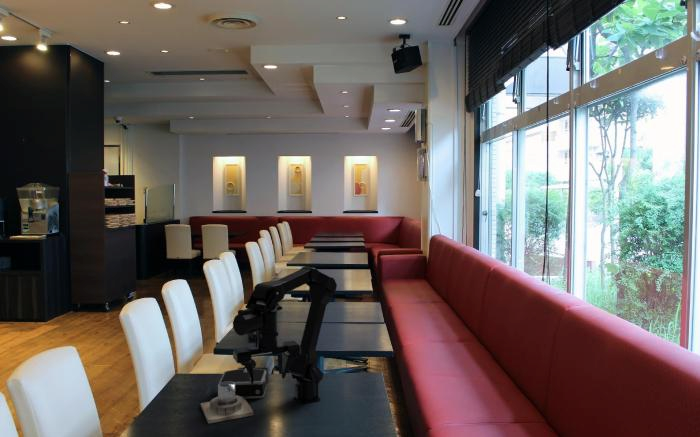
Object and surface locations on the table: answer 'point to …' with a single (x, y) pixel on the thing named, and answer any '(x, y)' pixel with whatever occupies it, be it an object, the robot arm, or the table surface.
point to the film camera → (248, 381)
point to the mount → (226, 410)
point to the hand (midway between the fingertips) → (267, 380)
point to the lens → (226, 393)
